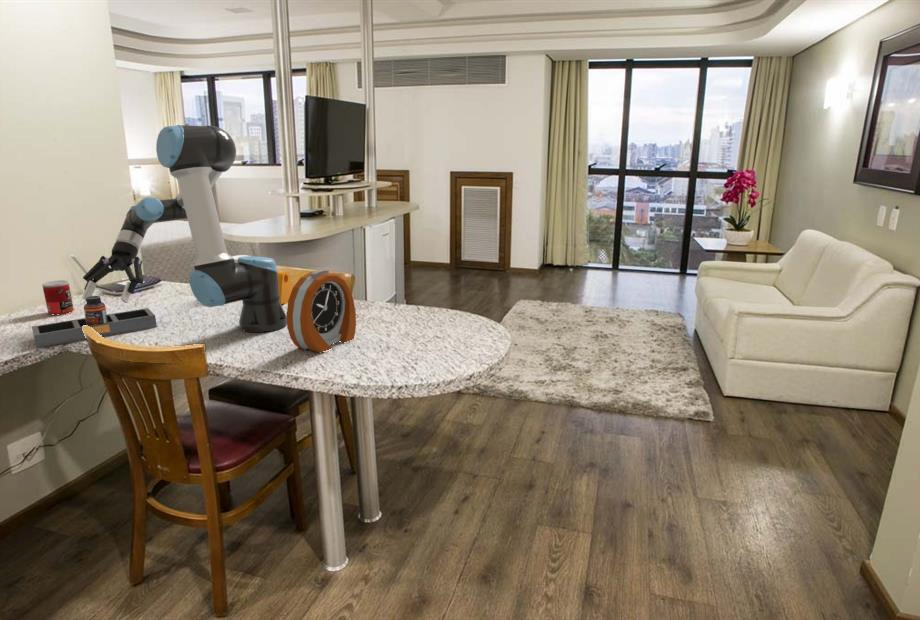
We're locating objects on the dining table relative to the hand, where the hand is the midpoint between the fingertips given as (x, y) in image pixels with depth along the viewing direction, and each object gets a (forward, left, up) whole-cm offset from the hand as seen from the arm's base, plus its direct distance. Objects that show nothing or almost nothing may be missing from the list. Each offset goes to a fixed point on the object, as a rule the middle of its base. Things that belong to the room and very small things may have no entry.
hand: (104, 300), depth 195 cm
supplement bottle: (-5, +4, -9) cm, 11 cm away
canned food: (+30, +11, -9) cm, 33 cm away
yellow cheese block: (-5, -56, -9) cm, 57 cm away
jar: (+15, -49, -9) cm, 52 cm away
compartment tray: (-4, +4, -9) cm, 11 cm away
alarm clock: (-59, -50, -9) cm, 78 cm away
